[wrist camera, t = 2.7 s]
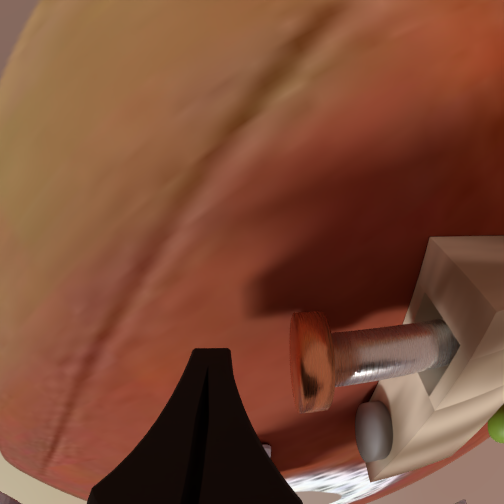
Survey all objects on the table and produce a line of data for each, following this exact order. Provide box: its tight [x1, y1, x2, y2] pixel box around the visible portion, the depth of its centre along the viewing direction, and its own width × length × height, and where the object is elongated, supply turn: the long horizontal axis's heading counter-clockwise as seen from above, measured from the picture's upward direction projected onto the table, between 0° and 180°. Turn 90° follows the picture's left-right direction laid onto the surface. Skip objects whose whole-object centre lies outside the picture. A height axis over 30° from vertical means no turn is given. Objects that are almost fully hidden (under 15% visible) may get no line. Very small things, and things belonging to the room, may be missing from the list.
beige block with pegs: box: [355, 236, 504, 482], centre depth 14 cm, size 16×12×5 cm
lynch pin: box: [290, 311, 460, 413], centre depth 11 cm, size 4×13×4 cm, turn 91°
